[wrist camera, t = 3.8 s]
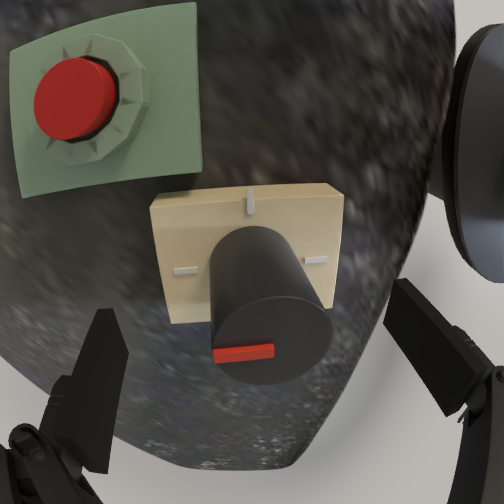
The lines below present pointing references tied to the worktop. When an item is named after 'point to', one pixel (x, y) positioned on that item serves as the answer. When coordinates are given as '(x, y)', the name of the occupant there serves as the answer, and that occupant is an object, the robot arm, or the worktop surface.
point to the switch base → (126, 101)
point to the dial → (264, 309)
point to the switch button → (74, 99)
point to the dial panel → (234, 217)
